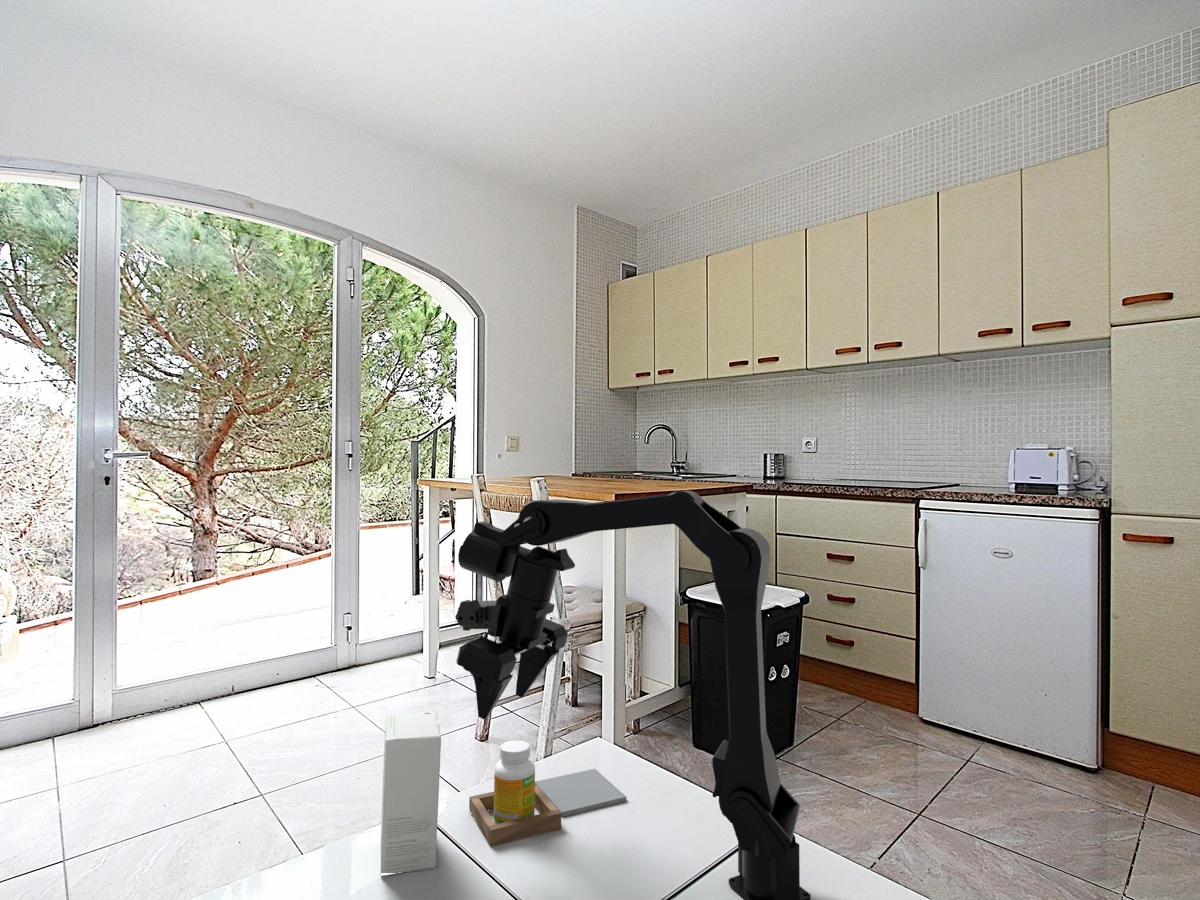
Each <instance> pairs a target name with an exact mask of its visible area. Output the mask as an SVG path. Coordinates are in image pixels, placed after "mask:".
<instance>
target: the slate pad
mask: <svg viewBox="0 0 1200 900" xmlns="http://www.w3.org/2000/svg"><path fill="white" fill-rule="evenodd" d="M535 784H536V785H537V786H538V787H539V788H540V789H541V791H542V792H543V793H544V794H545V795H546V796H547V797H548V799H549V800H550V801H551V802H552V803H553V804H554V805H555V807H556V808H557V809H558V810H559V811H560V812H561V818H563V817H567V816H571V815H575V814H579V813H583V812H587V811H591V810H595V809H596V810H597V809H599V808H603V807H607V806H612V805H615V804H620V803H624V802H627V796H626V795H625V794H624V793H623V792H622V791H621V790H620V789H619V788H618V787H616V786H615V785H614V784H613V783H612V782H610V781H609V780H608V779H607V778H606V777H605V776H604V775H603V774H602V773H600V772H599V771H598V770H597V769H596V768H592V769H587V770H582V771H578V772H573V773H569V774H564V775H560V776H554V777H549V778H544V779H540V780H535Z"/></svg>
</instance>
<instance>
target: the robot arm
mask: <svg viewBox="0 0 1200 900" xmlns="http://www.w3.org/2000/svg"><path fill="white" fill-rule="evenodd" d="M666 525H675V526H676V527H677V528H678V529H679V530H681V532H682V533H683V534H684V535H685V536H686V538H688V539H689V541H690V542H691V543H692V544H693V545H694V546H695V548H697V550H699V551H700V552H702V554H704V555H705V556H706V557H707V558H708V559H709V562H710V568H711V571H712V576H713V581H714V586H715V589H716V592H717V594H718V598H719V601H720V603H721V605H722V608H723V613H724V633H725V634H724V635H725V636H724V638H725V661H726V663H725V665H726V686H727V687H726V689H727V690H726V691H727V710H728V711H727V715H728V740H727V739H723V741H722V742H721V744H720V745H719V747H718V749H717V750H716V752H715V753H714V754H713V757H712V759H711V760H712V769H713V770H712V771H713V775H714V779H715V780H714V781H715V784H714V789H713V792H712V798H716V797H718V806H719V810H720V812H721V814H722V816H724V817H725V818H726V819H727V821H728V822H730V824H731V825H732V827H733V831H734V833H735V836H736V840H737V847H738V848H737V851H738V852H737V856H738V857H737V862H738V863H737V870H738V873H739V874H738V875H735V876H733V877H729V878H728V886H729V887H730V888H732V889H733V890H734V891H735V892H736V893H737V894H739V895H740V896H741V897H742V898H743V899H744V900H810V899H811V897H812V896H811V893H810V892H808V891H807V890H806V889H805V888H803V887H802V886H800V883H801V882H800V872H801V870H800V868H801V867H800V862H801V861H800V844H799V843H798V842H797V841H796V836H795V834H794V833H795V828H796V825H797V820H798V817H799V812H800V807H801V806H800V803H799V802H798V801H797V800H796V799H795V798H794V796H793V795H792V794H791V793H790V792H789V791H788V790H787V789H786V787H785V786H784V785H783V784H782V783H781V779H780V774H779V769H778V764H777V760H776V755H775V751H774V749H773V748H774V747H772V746H773V745H772V744H771V741H770V738H769V735H768V731H767V719H766V714H767V713H766V695H765V694H766V693H765V671H764V650H763V649H764V648H763V647H764V646H763V642H764V641H763V624H762V623H763V622H762V607H763V601H764V596H765V591H766V586H767V581H768V577H769V576H768V575H769V570H770V569H769V567H770V562H771V560H770V559H771V548H770V544H769V542H768V540H767V538H766V537H765V536H764V535H762V533H760V532H759V531H757V530H755V529H753V528H748V527H741V526H740V525H739V524H737V523H736V522H735V521H734V520H732V519H731V518H730V517H728V515H725V514H724V513H722V512H721V511H719V510H718V509H716V508H715V507H714V506H712V505H710V504H709V503H708V502H707V501H706V500H704V499H703V498H702V497H701V496H700V495H699V494H698V493H697V492H695V491H693V490H677V491H676V490H675V491H673V492H671V493H669V494H668V493H667V494H658V495H650V496H642V497H641V496H640V497H633V498H623V499H614V500H605V501H598V502H597V501H596V502H589V501H588V502H587V501H581V500H570V499H569V500H568V499H560V498H559V499H558V498H557V499H539V500H536V499H535V500H531V501H529V502H526V503H525V504H524V505H523V507H522V509H521V510H520V512H519V514H518V517H517V519H516V520H515V521H513V522H512V523H511V524H510V525H508V526H507V527H506V528H505V529H502V528H499V527H497V526H495V525H493V524H492V523H489V522H486V521H479V522H475V523H474V527H473V530H472V531H471V532H470V533H469V534H468V535H467V536H466V537H465V539H464V541H463V542H462V545H460V546H459V550H458V556H457V561H458V564H459V566H460V567H461V568H462V569H463V570H467V571H468V572H471V573H475V574H476V575H478V576H479V575H480V576H481V577H484V578H487V579H490V580H492V581H494V582H502V581H504V580H505V579H506V578H510V579H509V583H508V588H507V592H506V594H503V595H500V596H499V597H497V599H496V600H480V601H479V600H478V599H472V600H470V599H466V600H462V601H460V603H459V606H458V607H457V611H456V614H455V621H456V622H457V624H458V626H460V627H462V630H463V631H470V630H486V631H487V632H486V635H489V636H491V637H493V638H496V637H497V638H498V641H499V643H498V642H497V641H494V640H491V639H489V638H487V637H485V636H481V637H479V638H476V639H474V640H471V641H468V642H466V643H464V644H463V645H461V646H459V648H458V654H457V657H456V664H457V666H460V667H462V668H463V670H464V671H467V672H469V674H471V676H472V678H473V681H474V685H475V686H474V687H475V694H476V707H477V714H478V715H477V716H478V718H479V719H482V720H487V719H488V717H489V716H490V714H491V713H492V712H493V710H494V709H495V707H496V706H497V704H498V702H499V700H500V698H501V697H502V695H503V693H504V691H505V690H506V689H507V687H508V685H509V683H511V682H510V681H511V680H512V679H513V677H514V676H513V674H512V672H513V670H514V669H515V668H516V667H515V666H516V663H517V657H516V656H518V655H520V656H519V662H518V669H517V670H518V671H517V678H516V684H515V685H516V686H515V687H516V688H515V695H516V696H518V698H523V697H525V695H526V694H527V693H528V691H529V690H530V689H531V687H533V685H534V684H535V682H536V681H537V679H538V678H539V677H540V676H541V674H542V673H543V672H544V670H545V669H546V668H547V667H548V666H549V665H550V663H551V662H552V661H553V660H554V658H555V657H556V655H558V654H559V653H560V650H561V649H562V648H564V647H565V646H566V642H567V638H568V634H569V633H568V632H567V630H566V628H565V625H562V624H560V623H558V622H555V621H552V620H550V619H547V615H549V614H551V613H554V610H555V604H554V603H551V598H552V595H553V590H554V586H555V582H556V578H557V576H558V575H557V574H558V571H560V572H564V571H568V570H571V569H574V568H575V567H576V564H575V562H574V561H573V559H572V558H571V557H570V555H569V552H568V549H567V548H561V549H558V550H556V551H554V550H551V549H548V548H545V547H542V546H545V545H551V544H555V543H560V542H566V541H568V540H571V539H575V538H579V537H582V536H585V535H588V534H591V533H594V532H601V531H603V532H604V531H613V530H622V529H623V530H624V529H633V528H644V527H654V526H655V527H656V526H666ZM526 544H527V545H530V546H535V547H533V548H532V549H529V548H527V547H524V546H522V545H526ZM811 900H812V899H811Z"/></svg>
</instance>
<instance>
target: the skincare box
mask: <svg viewBox="0 0 1200 900" xmlns="http://www.w3.org/2000/svg"><path fill="white" fill-rule="evenodd" d="M385 718H386V719H385V730H384V743H383V744H384V748H383V750H384V751H383V766H382V767H383V772H382V774H383V775H382V792H381V793H382V795H381V797H382V799H381V831H380V832H381V833H380V874H381V873H399V872H407V873H412V872H411V871H413V872H418V870H419V871H425V870H429V869H435V868H436V863H437V861H436V860H437V841H438V840H437V839H438V837H437V836H438V816H439V815H438V814H439V797H440V795H439V794H440V772H441V750H442V749H441V748H442V736H441V729H440V725H441V722H440V720H439V719H438V714H437V710H433V711H432V710H431V711H423V712H422V711H421V712H420V711H419V712H411V713H401V714H397V713H396V714H389V715H386V717H385ZM416 870H417V871H416ZM409 871H410V872H409Z"/></svg>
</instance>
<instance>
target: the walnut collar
mask: <svg viewBox="0 0 1200 900" xmlns="http://www.w3.org/2000/svg"><path fill="white" fill-rule="evenodd" d="M468 800H469V803H468V806H469V807H468V808H469V810H470V812H471V813H472V815H473V817H474V819H475V820H474V819H473V820H474V822H475V821H476V822H475V824H476V823H477V824H476V825H477V827H478V828H479V830H480V832H481V834H482V835H483V837H484V839H485V840H486V842H487V844H488V845H489V847H490V848H491V847H495V846H499V845H503V844H506V843H511V842H515V841H519V840H523V839H526V838H529V837H530V838H531V837H534V836H539V835H542V834H546V833H550V832H554V831H558V830H561V829H562V817H561V812H560V811H559V810H558V809H557V808H556V807H555V805H554V804H553V803H552V802H551V801H550V800H549V799H548V797H547V796H546V795H545V794H544V793H543V792H542V791H541V789H540V788H539V787H538V786H537V785H536V784H535V810H536V811H537V812H538V813H537V814H534V816H529V817H525V818H521V819H517V820H513V821H509V822H504V823H500V824H495V822H494V818H493V817H491V815H490V813H489V811H488V810H492V811H494V810H493V809H494V791H490V792H486V793H485V792H484V793H482V794H481V793H480V794H476V795H472V796H469V799H468ZM469 810H468V811H469ZM470 812H469V813H470ZM473 817H472V818H473Z"/></svg>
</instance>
